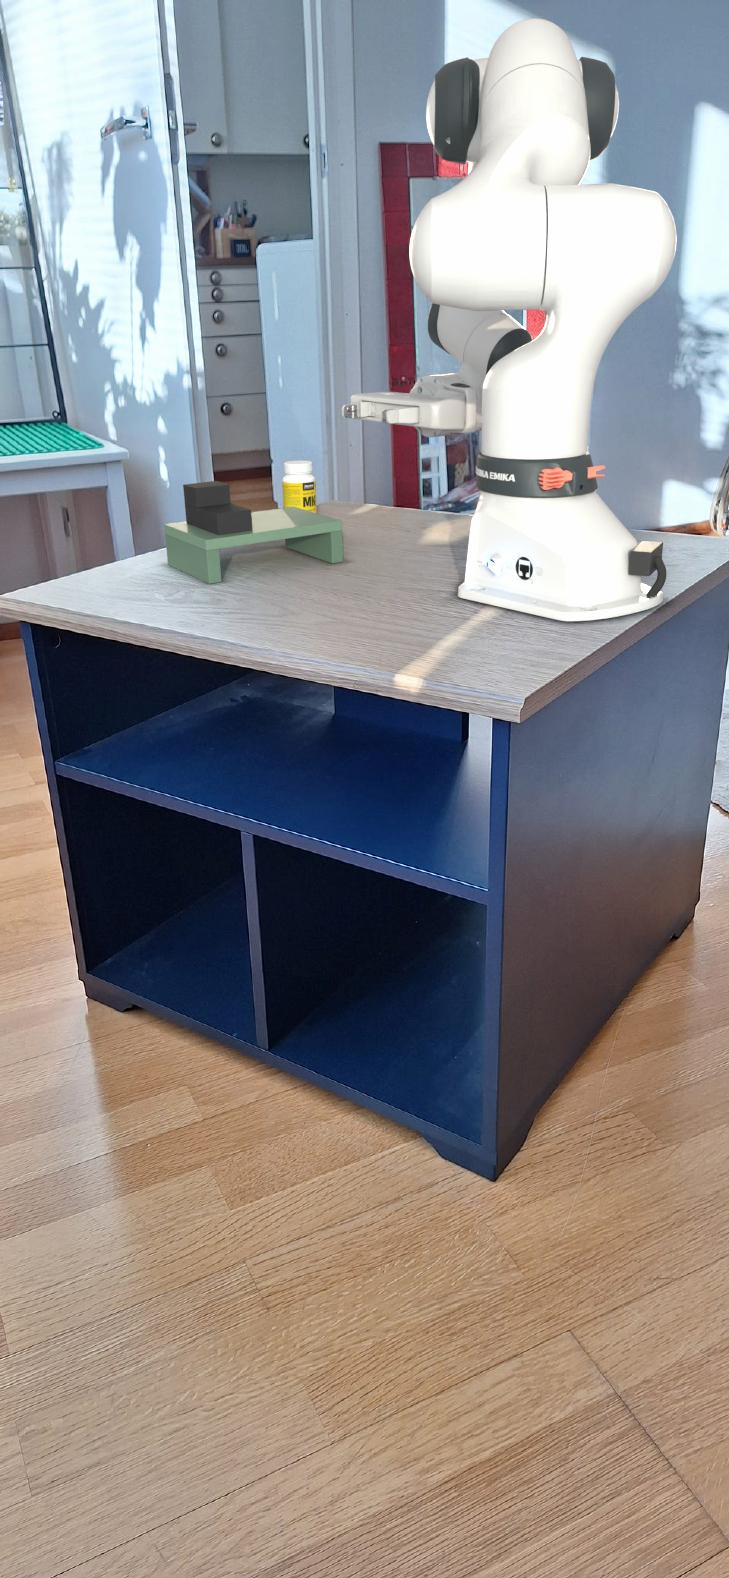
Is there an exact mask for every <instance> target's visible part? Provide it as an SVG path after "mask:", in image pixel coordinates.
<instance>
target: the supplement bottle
mask: <svg viewBox="0 0 729 1578" xmlns="http://www.w3.org/2000/svg"><path fill="white" fill-rule="evenodd" d="M313 470H314V467H313V461H311V460H302V459H301V460H289V461H285V462H284V463H283V472H284V474H285V475H284V476H283V477H282V479H281V487H282V488H281V489H282V501H283V502H282V506H283V507H282V508H288V507H296V508H300V509H303V510H307V511H310V512H314V513H317V514H318V511H317V485H316V483H317V482H316V480H317V479H316V477H315V476H314V475H313V474H312V473H313V472H314V471H313Z"/></svg>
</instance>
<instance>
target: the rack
mask: <svg viewBox="0 0 729 1578" xmlns="http://www.w3.org/2000/svg"><path fill="white" fill-rule="evenodd" d="M251 515H252V531H245V532H238V533H231V534H224V535H217V534H214V533H211V532H208V531H206V530H203V529H200V528H198V527H195V526H192V525H190V524H187V523H186V520H185V521H175V522H169V523H164V524H163V528H164V538H165V547H166V557H167V565H168V566H169V567H172V568H174V569H175V570H178V571H180V572H183V573H184V574H187V575H189V576H191V577H194V578H196V579H198V580H200V581H203V582H205V583H207V584H209V585H211V584H216V583H221V582H222V580H223V579H222V567H221V557H220V556H221V555H220V549H227V548H228V549H229V548H234V547H240V546H247V545H253V544H260V543H267V542H268V543H269V542H274V541H280V540H281V541H282V540H284V545H285V546H284V547H285V548H287V549H290V550H293V551H295V552H299V553H302V554H304V555H307V556H310V557H313V558H316V559H318V560H321V561H323V562H324V561H325V562H327V563H330V564H339V563H343V562H344V542H343V541H344V540H343V539H344V536H343V520H341V519H338V518H335V517H331V516H328V515H325V514H320V513H318V512H317V513H314V512H310V511H307V510H303V509H300V508H296V507H288V508H283V507H281V508H273V509H266V510H259V511H251Z"/></svg>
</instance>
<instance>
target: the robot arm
mask: <svg viewBox="0 0 729 1578" xmlns="http://www.w3.org/2000/svg"><path fill="white" fill-rule="evenodd" d="M426 99H427V100H426V106H425V121H426V128H427V131H428V134H429V137H430V138H429V139H430V141H431V143H432V145H433V150H434V152H435V153H436V155H438V157H439V159H441V160H443V161H446V162H450V163H454V164H460V165H466V163H467V174H466V176H465V177H464V178H463V179H461V181H460V182H458V183H457V184H456V185H454V186H452V187H451V188H450V189H448V190H446V191H444V192H442V193H441V194H439V195H437V196H433V197H432V198H431V199H430V200H428V202H426V204H425V205H424V206H423V208H422V209H421V210H420V212H419V214H418V216H417V218H416V220H415V222H414V224H413V227H412V231H411V234H410V238H409V247H408V248H409V250H408V251H409V252H408V254H409V255H408V256H409V265H410V269H411V273H412V276H413V279H414V281H415V283H416V286H417V287H418V289H419V290H420V292H421V294H423V296H424V297H425V298H426V299H427V300H428V301H429V303H431V305H430V308H429V312H428V316H427V333H428V336H429V338H430V340H431V342H432V343H433V344H434V345H435V346H437V347H438V348H440V349H442V351H444V352H446V353H447V354H449V355H450V356H451V357H453V358H454V359H455V360H456V361H457V362H458V363H459V364H461V366H460V369H459V371H457V372H455V373H445V374H434V375H433V374H431V375H425V376H422V377H421V378H419V379H418V380H417V381H416V382H415V384H414V385H413V387H412V389H410V391H409V393H407V392H397V391H376V392H362V393H355V394H353V395H351V397H350V404H343V405H342V407H341V416H342V418H344V419H353V420H358V421H365V422H373V423H374V422H375V423H382V424H389V425H390V424H391V425H396V426H397V425H398V426H406V427H413V428H415V429H416V430H417V431H418V433H419V434H420V435H422V436H423V437H425V438H429V439H431V438H437V437H446V436H452V435H459V434H460V435H461V434H462V435H463V434H464V435H465V434H473V433H475V432H481V447H480V448H481V449H480V450H481V451H480V452H479V453H478V454H477V456H476V457H477V458H476V465H475V476H476V477H475V479H476V480H475V481H476V482H475V483H476V484H475V486H476V488H477V489H478V490H479V493H478V494H479V495H478V499H477V504H476V507H475V509H474V512H473V514H472V516H471V521H470V528H469V536H468V545H467V553H466V554H467V555H466V563H465V572H464V574H465V575H464V581H463V582H462V583H461V584H460V585H459V586H458V589H457V597H458V598H460V599H464V600H467V601H472V602H478V603H481V604H486V605H490V606H494V607H499V608H502V609H507V610H512V611H517V612H520V613H525V614H529V615H534V616H538V617H543V618H547V619H552V620H556V621H562V622H586V621H597V620H602V619H603V620H606V619H611V618H617V617H623V616H628V615H631V614H635V613H641V612H644V611H648V610H650V609H652V608H654V607H657V606H659V605H660V604H661V603H663V601H664V592H663V591H662V589H663V588H664V585H665V583H666V580H667V568H666V565H665V563H664V561H663V551H664V550H663V549H664V542H663V541H653V540H652V541H651V540H642V541H641V542H638V541H637V539H636V538H635V537H634V535H633V534H632V533H631V532H630V530H628V529H627V528H626V526H625V525H624V524H623V523H622V522H621V521H620V519H619V518H618V517H617V516H616V514H615V513H614V512H613V511H612V509H611V508H610V507H609V505H607V504H606V503H605V502H604V500H603V499H602V498H601V497H600V495H599V494H598V493H597V490H598V488H599V486H598V485H599V484H598V482H597V479H599V478H604V477H605V476H606V474H604V473H603V474H602V473H601V474H600V473H597V472H598V471H599V472H600V471H602V470H604V469H606V465H596V466H594V464H593V458H592V455H591V453H590V452H589V450H588V451H587V445H588V443H589V427H590V417H591V416H590V415H591V409H592V408H591V407H592V401H593V393H594V385H595V382H596V381H595V380H596V376H597V373H598V369H599V366H600V363H601V361H602V359H603V358H602V357H603V355H604V353H605V351H606V349H607V347H608V345H609V343H610V342H611V339H612V338H613V337H614V335H615V334H616V332H617V330H618V329H619V328H620V327H621V325H622V324H623V322H624V321H625V320H626V319H627V318H628V317H629V316H630V315H632V313H633V312H634V311H635V310H636V309H637V308H638V307H639V306H641V304H643V303H645V302H646V301H647V300H649V299H650V298H651V297H652V296H654V294H656V292H657V291H658V290H659V288H661V286H662V285H663V283H664V282H665V281H666V278H667V277H668V275H669V273H670V271H671V268H672V267H673V263H674V260H675V256H676V250H677V229H676V223H675V219H674V216H673V213H672V211H671V209H670V206H669V205H668V203H667V202H666V201H665V199H664V198H663V196H661V194H660V193H658V192H657V191H654V190H648V189H646V188H645V189H644V188H639V187H636V186H629V185H623V184H617V183H585V184H584V183H583V184H582V181H583V179H584V178H585V175H586V172H587V170H588V167H589V165H590V161H592V160H595V159H598V158H599V157H600V156H601V155H602V153H603V152H604V151H605V150H606V149H607V148H608V147H609V145H610V142H611V138H612V136H613V134H614V131H615V129H616V126H617V122H618V118H619V109H620V107H619V106H620V99H619V92H618V88H617V84H616V77H615V74H614V72H613V70H612V69H611V67H610V66H609V65H608V63H607V62H605V61H603V60H600V59H596V58H592V57H587V56H586V57H585V56H581V57H580V58H579V59H578V57H577V54H576V52H575V50H574V47H573V45H572V43H571V41H570V39H569V37H568V35H567V34H566V32H565V31H564V30H563V29H562V28H561V27H560V26H559V25H557V24H555V23H554V22H552V21H550V20H547V19H544V18H537V17H533V18H526V19H522V20H519V21H517V22H515V23H513V24H511V25H510V26H508V27H507V28H506V29H505V30H504V31H503V32H502V33H501V34H500V35H499V36H498V37H497V39H496V41H494V44H493V46H492V48H491V50H490V53H489V56H488V57H483V58H477V59H472V58H469V57H462V58H459V59H456V60H452V61H450V62H448V63H445V64H443V66H442V67H440V69H439V70H438V71H437V72H436V73H435V74H434V80H433V82H432V84H431V87H430V89H429V92H428V96H427V98H426ZM535 310H536V311H541V312H544V313H546V319H545V323H544V327H543V328H542V330H541V332H540V333H539V335H538V336H536V338H534V339H533V336H532V334H531V333H530V332H529V331H528V329H526V328H525V327H524V326H523V325H521V323H519V322H518V321H517V320H516V319H515V318H513V317H512V316H511V315H510V314H508V313H507V312H506V311H535ZM595 490H596V491H595ZM655 572H657V576H656V579H655V581H654V583H653V585H652V586H650V585H648V584H645V583H642V577H650V576H651V575H653V574H654V573H655Z"/></svg>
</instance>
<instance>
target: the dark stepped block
mask: <svg viewBox="0 0 729 1578" xmlns="http://www.w3.org/2000/svg"><path fill="white" fill-rule="evenodd" d="M182 488H183V496H184V497H183V498H184V499H183V500H184V510H185V519H186V520H185V521H186V523H187V524H190V525H192V526H195V527H198V528H200V529H203V530H206V531H208V532H211V533H214V534H217V535H224V534H231V533H238V532H245V531H252V515H251V512H252V509H251V508H250V509H249V508H247V507H244V506H240V505H237V504H234V503H231V489H230V484H229V483H225V482H222V481H219V480H211V481H203V482H194V483H186V484H183V485H182Z"/></svg>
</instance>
